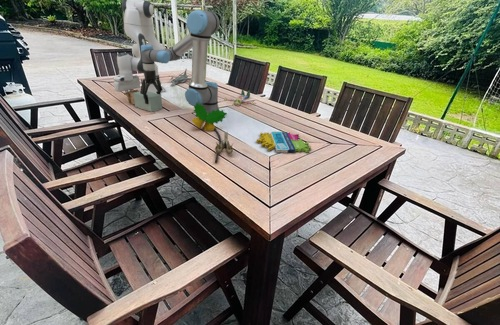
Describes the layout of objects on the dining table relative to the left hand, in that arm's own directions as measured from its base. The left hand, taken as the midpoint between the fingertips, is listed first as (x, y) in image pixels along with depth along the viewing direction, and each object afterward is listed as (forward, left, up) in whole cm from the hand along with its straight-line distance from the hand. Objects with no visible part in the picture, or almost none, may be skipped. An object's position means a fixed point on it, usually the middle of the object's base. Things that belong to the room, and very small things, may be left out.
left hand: (129, 95), depth 198 cm
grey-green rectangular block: (+15, +14, -5) cm, 21 cm away
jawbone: (+91, +58, -5) cm, 108 cm away
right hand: (+19, +18, 0) cm, 26 cm away
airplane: (-69, +39, -5) cm, 80 cm away
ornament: (+59, +54, -5) cm, 80 cm away
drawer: (+6, +6, -4) cm, 10 cm away
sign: (+84, +93, -5) cm, 126 cm away
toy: (+1, +87, -5) cm, 88 cm away
